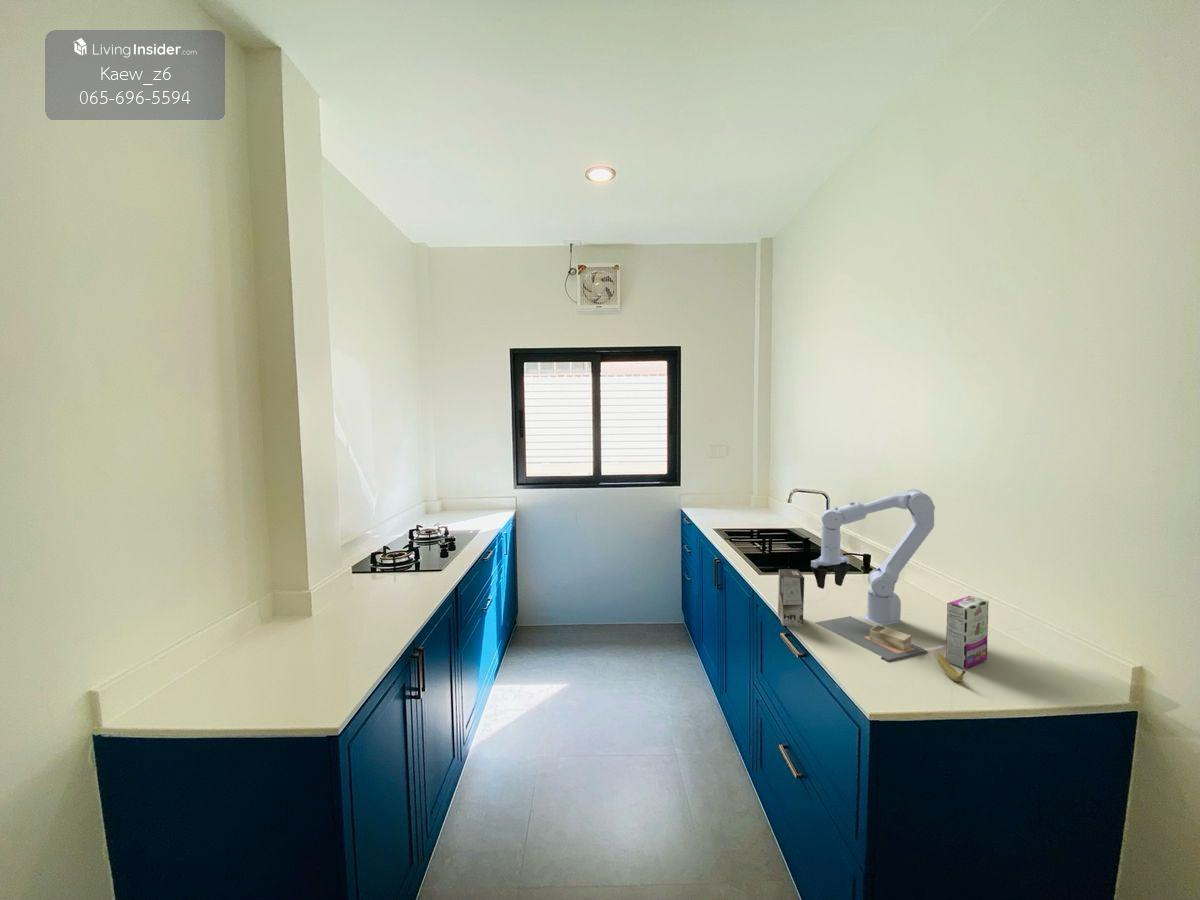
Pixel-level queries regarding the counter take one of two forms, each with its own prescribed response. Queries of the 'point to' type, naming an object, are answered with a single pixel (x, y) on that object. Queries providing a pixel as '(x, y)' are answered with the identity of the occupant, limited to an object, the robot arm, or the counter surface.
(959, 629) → the candy bar box
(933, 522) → the robot arm
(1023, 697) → the counter surface
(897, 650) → the mat
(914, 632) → the counter surface
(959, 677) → the banana
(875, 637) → the card box
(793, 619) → the coffee box
